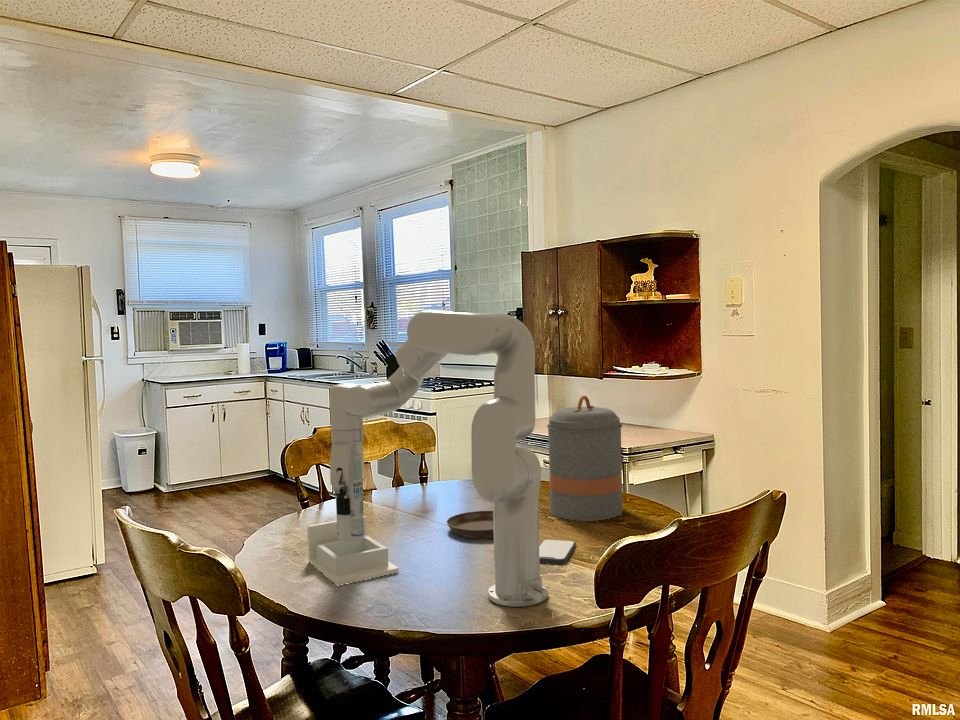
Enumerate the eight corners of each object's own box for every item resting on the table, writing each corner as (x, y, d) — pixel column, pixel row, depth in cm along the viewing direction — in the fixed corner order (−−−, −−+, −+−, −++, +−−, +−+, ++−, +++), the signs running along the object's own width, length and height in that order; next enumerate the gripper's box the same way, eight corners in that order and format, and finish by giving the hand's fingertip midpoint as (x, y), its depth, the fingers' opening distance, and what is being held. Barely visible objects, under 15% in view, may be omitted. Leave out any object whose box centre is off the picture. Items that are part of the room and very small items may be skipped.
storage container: (607, 525, 204) (604, 401, 202) (536, 515, 216) (533, 398, 214) (634, 506, 223) (632, 393, 221) (567, 499, 235) (565, 391, 233)
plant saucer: (437, 526, 209) (437, 514, 209) (503, 517, 217) (503, 506, 216) (461, 546, 190) (460, 533, 190) (533, 535, 197) (532, 523, 197)
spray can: (356, 542, 170) (353, 457, 169) (331, 540, 172) (328, 456, 171) (369, 534, 176) (366, 452, 175) (345, 532, 178) (342, 451, 177)
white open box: (398, 572, 170) (397, 534, 169) (337, 586, 162) (335, 546, 162) (365, 551, 187) (364, 515, 187) (308, 562, 179) (306, 525, 179)
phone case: (543, 544, 190) (528, 563, 175) (543, 538, 190) (528, 556, 175) (577, 547, 188) (565, 566, 172) (577, 541, 188) (565, 559, 172)
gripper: (347, 430, 182) (350, 501, 183) (316, 442, 165) (319, 519, 166) (375, 430, 180) (378, 502, 181) (347, 442, 164) (349, 521, 165)
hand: (349, 509), depth 174 cm, fingers closed on spray can, 6 cm apart
